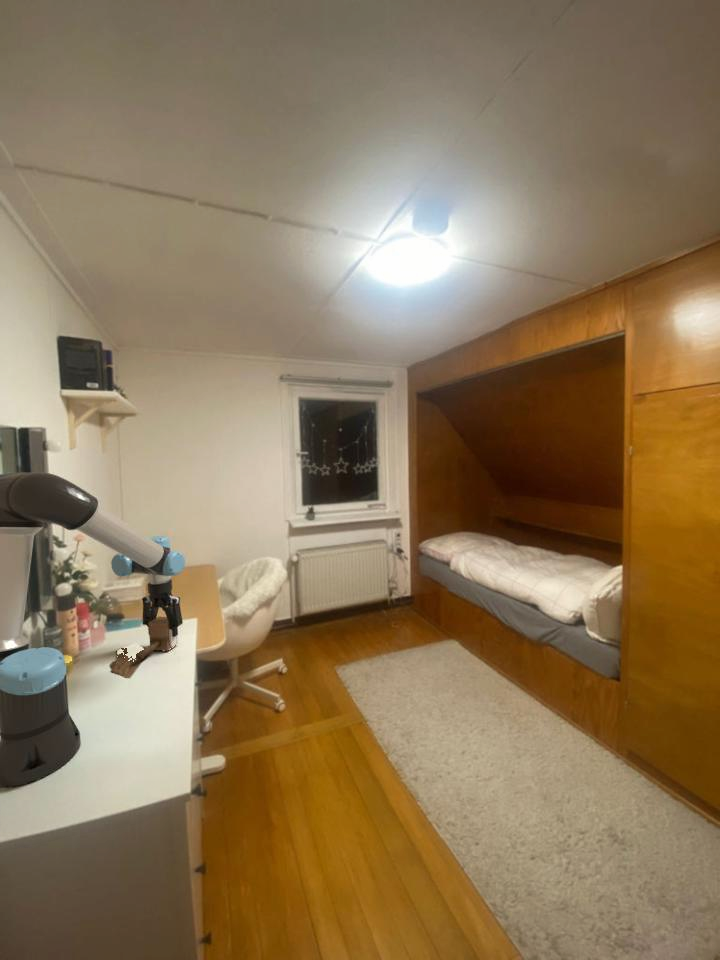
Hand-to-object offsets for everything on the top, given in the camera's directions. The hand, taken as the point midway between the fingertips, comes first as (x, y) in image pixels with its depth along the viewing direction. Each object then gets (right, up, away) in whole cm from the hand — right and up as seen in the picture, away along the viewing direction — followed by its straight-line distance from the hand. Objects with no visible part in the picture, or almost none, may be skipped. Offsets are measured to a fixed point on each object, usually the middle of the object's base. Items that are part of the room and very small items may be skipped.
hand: (163, 644), depth 136 cm
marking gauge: (-1, -1, -4) cm, 5 cm away
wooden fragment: (-8, -3, -7) cm, 11 cm away
